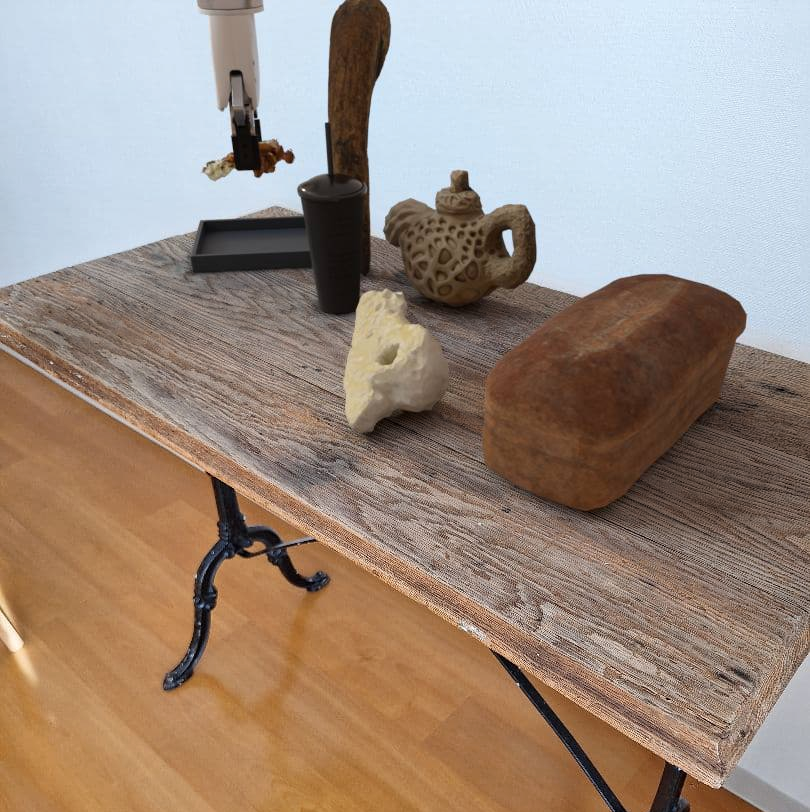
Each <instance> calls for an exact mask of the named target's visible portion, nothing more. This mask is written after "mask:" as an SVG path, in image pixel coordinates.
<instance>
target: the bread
mask: <svg viewBox="0 0 810 812" xmlns="http://www.w3.org/2000/svg"><path fill="white" fill-rule="evenodd" d="M747 319H748V314H747V312H746V310H745V309H744V306H743V305H742V303H741V302H740V301H739V300H738V299H736V298H735V297H733V296H732V295H730V294H729V293H727V292H726V291H723V290H721V289H719V288H716V287H715V286H712V285H709V284H705V283H702V282H698V281H694V280H691V279H687V278H683V277H680V276H675V275H671V274H668V273H642V274H641V273H640V274H634V275H630V276H625V277H624V276H623V277H619V278H617V279H614V280H613V281H611V282H609V283H607V284H606V285H604V286H602V287H601V288H599V289H597V290H595V291H592V292H591V293H589V294H587V295H585V296H582V297H581V298H579V299H578V300H576V301H575V302H572V304H569V305H568V306H567V307H565V308H563V309H562V310H560V312H558V313H557V314H555V315H554V316H552V317H551V318H550V319H548V320H547V321H546V322H544V324H542V325H541V326H540V327H539V328H537V329H536V330H535V331H534V332H532V333H531V334H530V335H529V336H527V337H526V338H525V339H524V340H523V341H522V342H520V343H519V344H518V345H516V346H515V347H514V348H512V349H511V350H509V351H508V352H507V353H505V354H504V355H503V356H501V357H500V359H498V360H497V361H496V362H495V363H494V365H493V367H491V369H490V370H489V372H488V375H487V377H486V380H485V382H484V421H483V424H482V425H483V426H482V430H481V448H482V449H481V450H482V457H483V463H484V465H486V466H487V467H488V468H489V469H490V470H491V471H493V473H495V474H497V475H498V476H500V477H502V478H503V479H505V480H507V481H508V482H510V483H512V484H513V485H515V486H517V487H519V488H521V489H523V490H524V491H527V492H529V493H531V494H533V495H535V496H537V497H540V498H543V499H545V500H548V501H551V502H554V503H556V504H559V505H562V506H565V507H568V508H572V509H576V510H579V511H585V512H589V511H591V510H595V509H599V508H605V507H607V506H608V505H610V504H611V503H613V502H615V501H616V500H617V499H619V498H620V497H622V496H624V495H625V494H626V493H627V492H628V491H629V489H631V487H632V486H633V485H634V484H635V482H637V480H638V479H639V478H640V477H641V476H642V475H643V474H644V473H645V472H646V471H647V470H648V469H649V468H650V467H651V466H652V465H653V464H654V463H655V462H656V461H657V460H658V459H659V458H660V457H661V456H662V455H664V454H665V453H666V452H667V451H668V450H669V449H670V448H671V447H672V446H673V445H674V444H675V443H676V442H677V441H679V439H680V438H681V437H682V436H683V435H684V434H685V433H686V432H687V431H688V430H689V428H691V426H692V425H693V424H694V423H695V421H697V420H698V419H699V417H701V416H702V414H704V413H705V412H706V411H707V410H708V409H709V408H710V407H711V406H712V405H713V404H715V402H716V401H717V400H718V398H719V396H720V394H721V392H722V389H723V386H724V383H725V379H726V376H727V372H728V369H729V365H730V363H731V358H732V356H733V352H734V350H735V347H736V342H737V339H739V337H740V336H741V335H742V334H743V333H744V332H745V331H746V328H747Z"/></svg>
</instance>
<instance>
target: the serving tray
mask: <svg viewBox="0 0 810 812" xmlns="http://www.w3.org/2000/svg"><path fill="white" fill-rule="evenodd" d="M190 263H191V269H192V273H204V272H207V273H208V272H226V271H227V272H228V271H229V272H230V271H242V270H243V271H246V270H247V271H249V270H267V269H268V270H269V269H291V268H309V267H312V261H311V255H310V249H309V243H308V238H307V232H306V226H305V220H304V215H288V216H265V217H264V216H262V217H243V218H219V219H216V218H215V219H200V220H199V223H198V227H197V231H196V234H195V238H194V242H193V246H192V249H191V253H190ZM312 268H313V267H312Z"/></svg>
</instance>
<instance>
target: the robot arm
mask: <svg viewBox="0 0 810 812" xmlns="http://www.w3.org/2000/svg"><path fill="white" fill-rule="evenodd" d="M196 3H197V11H198V13H199V14H200V15H206V16H207V22H208V35H209V36H208V37H209V45H210V57H211V64H212V73H213V80H214V86H215V87H214V88H215V89H214V90H215V98H216V106H217V109H218V110H219V111H220V112H221V113H222V112H225V109H227V108H229V116H230V117H229V118H230V126H231V127H230V128H231V135H230V139H231V140H230V141H231V146H232V147H231V148H232V152H233V155H234V162H235V170H236V171H237V172H242V171H243V172H245V171H247V172H248V171H249V172H251V171H253V170H260V169H261V160H260V151H259V142H262V141H263V137H262V128H261V119H260V118H259V115H258V113H259V112H258V107H259V104H260V103H259V102H260V96H261V79H260V78H261V77H260V61H259V49H258V39H257V26H256V19H255V14H259V13H261V12H264V11H265V7H264V6H265V5H264V0H196Z"/></svg>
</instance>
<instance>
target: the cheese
mask: <svg viewBox="0 0 810 812" xmlns="http://www.w3.org/2000/svg"><path fill="white" fill-rule="evenodd" d="M404 295H405V294H404V293H403V292H402V291H397V292H396V291H395V292H393V291H392V290H391V289H390V288H387V287H386V288H384V289H383V291H379V290H377V291H376V290H369V291H366V292H364V293H363V294H362V295H360V301H359V304H358V306H357V309H356V310H355V320H354V330H353V333H352V339H351V348H350V349H349V352H348V355H347V358H346V365H345V371H344V372H345V373H344V376H343V379H342V384H343V385H342V386H343V391H344V392H345V405H344V411H345V417H346V421H347V423H348V425H349V427H350V429H351V430H353V432H355V433H358V434H364V433H367V432H368V433H372V432H374V430H375V429H374V428H375V426H376V425H377V423H379V422H380V421H381V420H383V419H385V418H390V417H391V416H392V414H393V412H394V411H396V410H403V411H408V412H414V413H419V412H423V411H432V410H433V407H434V406H435V404H437V402H439V401H440V400H442V399H443V398H444V397H445V395H446V392H447V390H448V388H449V386H450V370H449V364H448V363H449V362H448V361H447V359H446V357H445V356H444V354H443V349H442V346H441V344H440V343H439V342H438V341H437V339H435V337H434V336H433V334H432V333H431V332H430V331H429V330H428V329H427V328H425V327H424V326H422V325H421V324H419V323H418V324H417V323H415V324H413V323H412V322H410V320H408V319H407V318H406V314H407V311H408V302H407V301H406V299H405V296H404Z"/></svg>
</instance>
